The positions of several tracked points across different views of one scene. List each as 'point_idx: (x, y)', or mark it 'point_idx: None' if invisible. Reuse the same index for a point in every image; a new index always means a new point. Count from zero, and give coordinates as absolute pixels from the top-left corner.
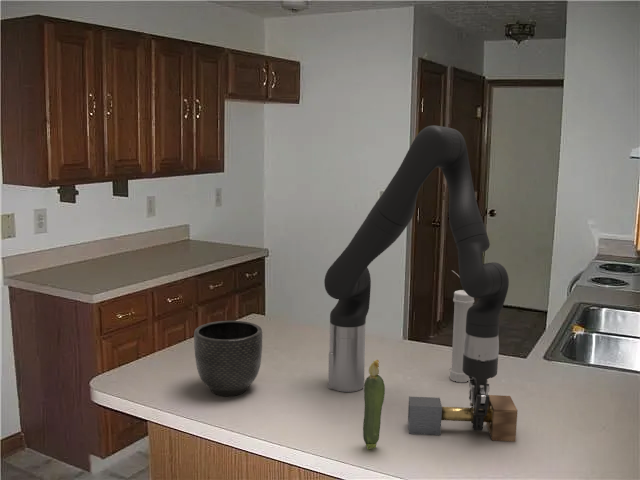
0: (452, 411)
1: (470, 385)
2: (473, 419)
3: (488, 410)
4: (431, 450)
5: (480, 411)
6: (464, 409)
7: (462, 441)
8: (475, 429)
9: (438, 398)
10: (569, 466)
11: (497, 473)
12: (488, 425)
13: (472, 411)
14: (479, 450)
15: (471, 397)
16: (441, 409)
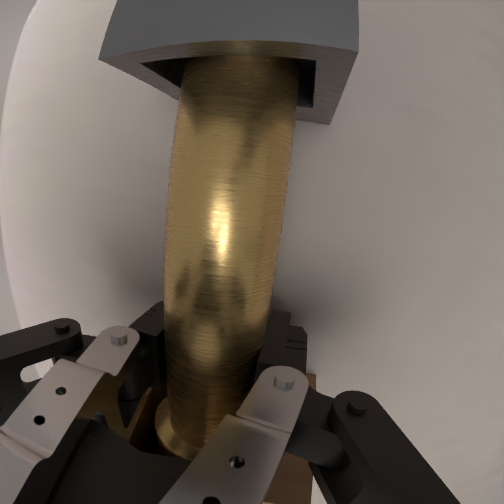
0: (174, 172)
1: (15, 499)
2: (154, 314)
3: (181, 430)
4: (85, 77)
5: (53, 362)
6: (178, 289)
7: (141, 211)
8: None
9: (333, 32)
10: None
11: (8, 265)
12: None
13: (171, 341)
14: (84, 261)
15: (72, 399)
16: (113, 63)
